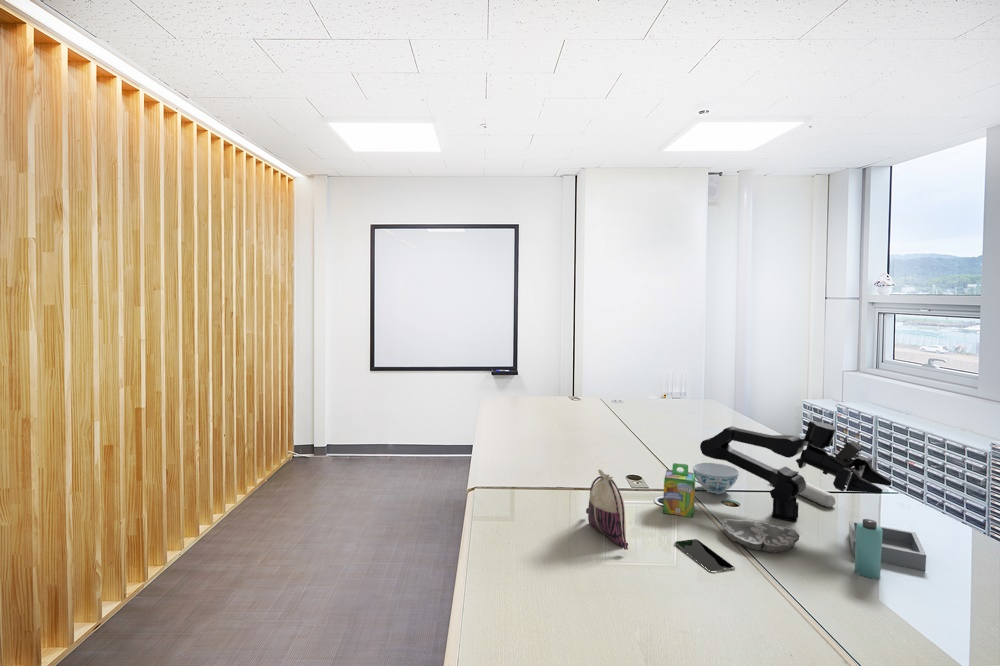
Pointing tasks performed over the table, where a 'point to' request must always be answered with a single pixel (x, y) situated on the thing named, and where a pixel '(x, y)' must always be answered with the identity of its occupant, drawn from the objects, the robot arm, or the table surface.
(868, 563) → the capped bottle
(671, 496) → the chalk box
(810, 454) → the robot arm
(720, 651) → the table surface
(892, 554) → the tray
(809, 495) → the tube
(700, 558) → the smartphone
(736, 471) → the chinaware
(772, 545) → the brain slice
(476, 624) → the table surface
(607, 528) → the pouch
